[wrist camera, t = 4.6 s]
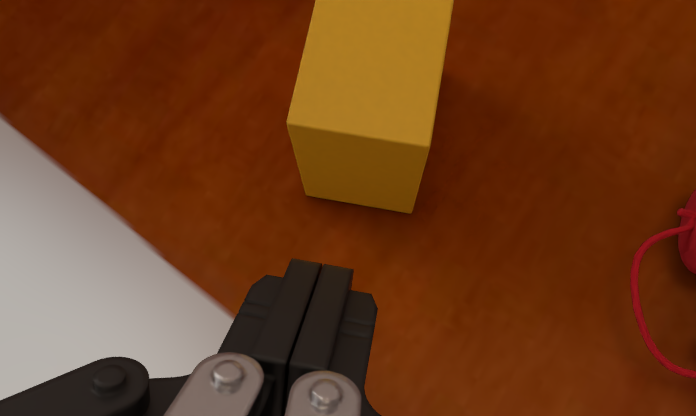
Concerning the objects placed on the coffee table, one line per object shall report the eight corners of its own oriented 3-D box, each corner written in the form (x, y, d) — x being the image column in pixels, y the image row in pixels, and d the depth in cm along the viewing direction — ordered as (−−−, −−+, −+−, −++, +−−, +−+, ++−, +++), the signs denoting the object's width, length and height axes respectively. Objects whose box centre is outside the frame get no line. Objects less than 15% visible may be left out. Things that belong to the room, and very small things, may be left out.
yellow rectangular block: (411, 214, 25) (430, 147, 18) (300, 195, 25) (278, 122, 19) (437, 59, 27) (462, -52, 21) (334, 43, 28) (326, -71, 21)
